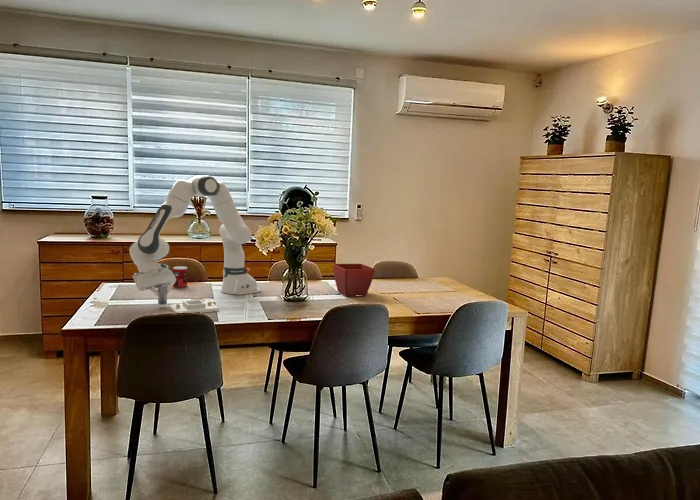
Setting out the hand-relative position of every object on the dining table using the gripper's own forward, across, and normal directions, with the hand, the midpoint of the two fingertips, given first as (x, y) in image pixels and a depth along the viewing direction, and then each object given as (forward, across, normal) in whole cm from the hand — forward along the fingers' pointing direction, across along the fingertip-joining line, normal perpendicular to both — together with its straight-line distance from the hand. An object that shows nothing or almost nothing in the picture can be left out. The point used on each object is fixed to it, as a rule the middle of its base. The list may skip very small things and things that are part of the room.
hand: (163, 293), depth 237 cm
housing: (+14, +8, -4) cm, 16 cm away
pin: (+3, 0, +4) cm, 5 cm away
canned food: (-17, +36, +28) cm, 48 cm away
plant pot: (+42, +92, -30) cm, 106 cm away
